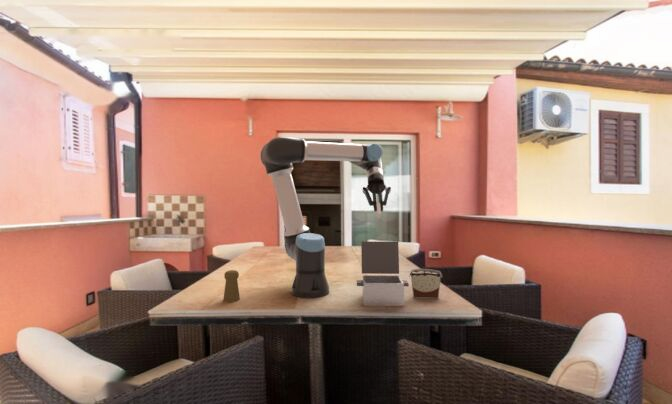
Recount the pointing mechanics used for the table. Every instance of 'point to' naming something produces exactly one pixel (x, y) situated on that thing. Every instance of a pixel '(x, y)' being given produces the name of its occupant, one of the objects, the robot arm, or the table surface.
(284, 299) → the table surface
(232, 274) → the cork
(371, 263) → the pot lid
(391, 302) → the rectangular cooking pot
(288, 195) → the robot arm
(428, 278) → the food container
